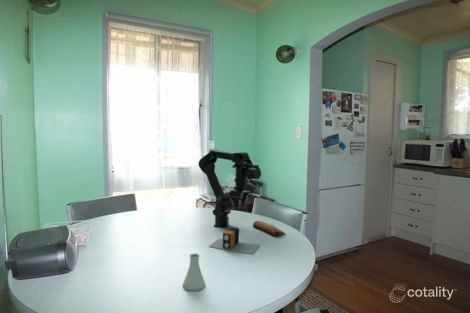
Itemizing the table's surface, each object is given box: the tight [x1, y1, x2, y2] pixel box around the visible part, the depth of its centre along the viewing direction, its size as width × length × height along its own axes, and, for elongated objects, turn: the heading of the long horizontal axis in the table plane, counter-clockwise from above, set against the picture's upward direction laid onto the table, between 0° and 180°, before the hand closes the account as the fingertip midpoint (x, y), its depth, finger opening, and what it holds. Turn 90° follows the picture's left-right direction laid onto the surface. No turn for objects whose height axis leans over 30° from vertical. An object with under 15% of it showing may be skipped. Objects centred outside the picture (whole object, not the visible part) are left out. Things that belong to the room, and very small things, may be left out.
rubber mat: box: [208, 237, 261, 256], centre depth 126 cm, size 20×11×1 cm, turn 69°
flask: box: [182, 253, 206, 292], centre depth 92 cm, size 7×7×10 cm
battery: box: [222, 226, 240, 249], centre depth 126 cm, size 4×7×10 cm
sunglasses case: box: [252, 220, 287, 238], centre depth 148 cm, size 18×7×7 cm, turn 34°
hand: (240, 207), depth 147 cm, fingers open, 9 cm apart
